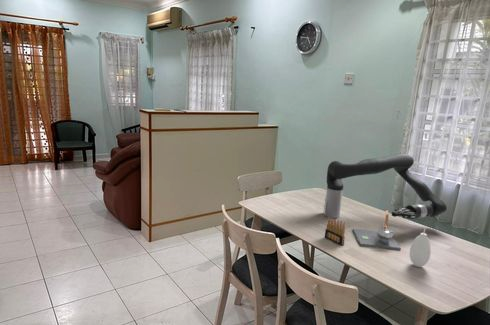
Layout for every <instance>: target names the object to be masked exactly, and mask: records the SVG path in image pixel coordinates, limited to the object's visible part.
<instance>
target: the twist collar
mask: <svg viewBox="0 0 490 325" xmlns="http://www.w3.org/2000/svg"><path fill="white" fill-rule="evenodd" d="M389 216H390V212H389V210H385V214H384V218H383V224H382V227H380V228H378V230H377V231H378V234H377V235H378V236H379V237H381V238H383V239H392V238H394V231H392V230H391V229H389V228H388V222H389Z"/></svg>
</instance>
